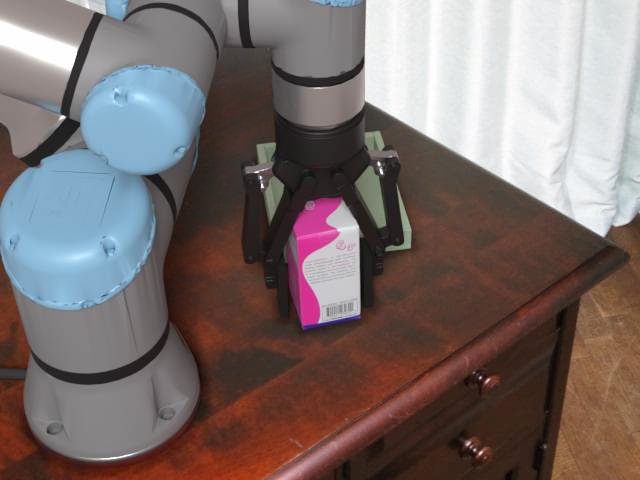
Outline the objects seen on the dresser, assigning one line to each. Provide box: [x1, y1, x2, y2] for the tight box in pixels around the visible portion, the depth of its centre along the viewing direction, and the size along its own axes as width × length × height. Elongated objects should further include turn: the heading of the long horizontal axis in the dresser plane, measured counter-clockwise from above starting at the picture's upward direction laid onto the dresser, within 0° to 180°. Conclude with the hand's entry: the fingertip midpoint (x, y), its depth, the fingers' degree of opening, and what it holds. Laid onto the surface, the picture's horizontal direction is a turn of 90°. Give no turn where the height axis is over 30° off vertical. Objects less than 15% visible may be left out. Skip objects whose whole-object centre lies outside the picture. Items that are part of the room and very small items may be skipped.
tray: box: [255, 130, 413, 264], centre depth 120 cm, size 14×17×2 cm
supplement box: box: [286, 197, 362, 330], centre depth 106 cm, size 6×6×12 cm
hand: (324, 302), depth 109 cm, fingers open, 7 cm apart
